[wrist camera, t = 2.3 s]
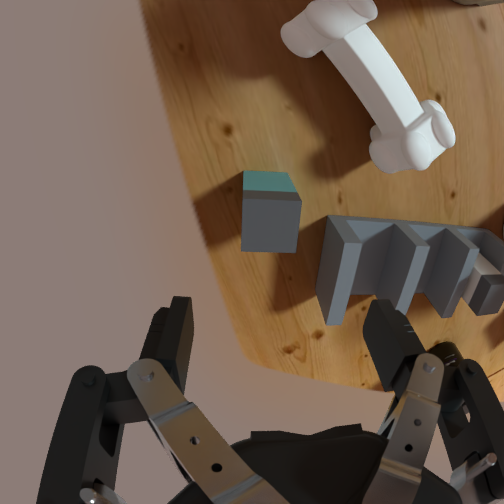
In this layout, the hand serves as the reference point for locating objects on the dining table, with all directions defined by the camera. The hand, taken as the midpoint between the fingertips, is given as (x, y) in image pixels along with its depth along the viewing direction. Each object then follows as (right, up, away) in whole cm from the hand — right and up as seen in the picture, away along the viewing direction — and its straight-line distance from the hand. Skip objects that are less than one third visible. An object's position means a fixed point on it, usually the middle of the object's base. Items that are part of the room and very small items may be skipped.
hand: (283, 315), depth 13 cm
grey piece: (+18, +2, +19) cm, 26 cm away
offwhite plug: (+25, +1, +18) cm, 31 cm away
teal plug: (0, +8, +15) cm, 17 cm away
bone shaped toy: (+8, +18, +10) cm, 23 cm away
